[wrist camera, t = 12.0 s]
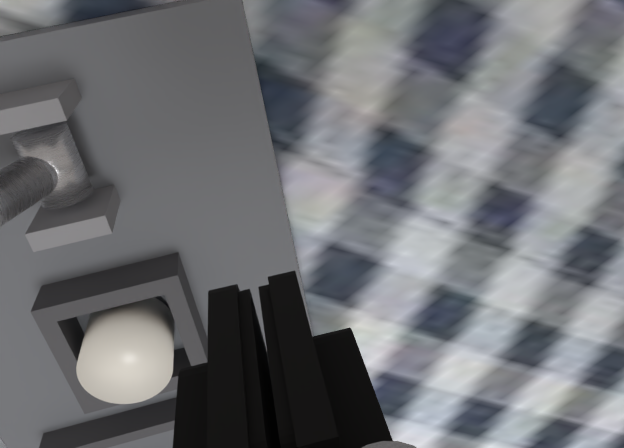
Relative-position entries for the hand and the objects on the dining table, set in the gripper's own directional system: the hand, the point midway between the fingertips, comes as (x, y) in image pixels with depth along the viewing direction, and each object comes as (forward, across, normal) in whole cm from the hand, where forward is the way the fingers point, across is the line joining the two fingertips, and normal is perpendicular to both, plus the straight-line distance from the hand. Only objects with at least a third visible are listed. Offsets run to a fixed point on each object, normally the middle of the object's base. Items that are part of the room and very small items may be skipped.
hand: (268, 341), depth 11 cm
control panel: (+16, +7, +7) cm, 19 cm away
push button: (+14, +7, +8) cm, 18 cm away
